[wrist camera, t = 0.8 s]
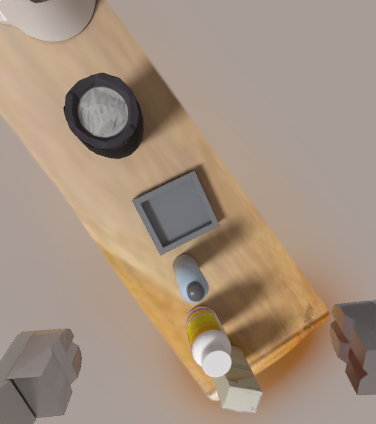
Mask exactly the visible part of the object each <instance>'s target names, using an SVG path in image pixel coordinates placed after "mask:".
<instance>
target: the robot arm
mask: <svg viewBox="0 0 376 424" xmlns="http://www.w3.org/2000/svg"><path fill="white" fill-rule="evenodd" d="M95 1H96V0H0V23H3V24H7V25H12V26H14V27H16V28H18V29H19V30H21V31H22V32H24V33H26V34H27V35H29V36H31V37H34V38H36V39H39V40H43V41H52V42H55V41H63V40H66V39H69V38H72V37H74V36H75V35H77V34H78V33H80V32H81V31H82V30H83V29H84V28H85V27H86V25H87V24H88V23H89V21H90V19H91V17H92V15H93V12H94V8H95ZM332 314H333V316H334V318H335V321H334V322H332V323H331V327H330V335H331V341H332V344H333V347H334V350H335V352H336V354H337V356H338V358H340V359H341V360H343V361H344V362H345V363H346V371H345V372H346V374H347V376H348V378H349V380H350V382H351V384H352V386H353V388H354V390H355V392H356V394H357V395H374V394H376V300H373V301H361V302H352V303H342V304H335V305H334V307H333V310H332ZM73 337H74V335H73V333H72V331H71V329H53V330H39V331H38V330H37V331H26V332H21V333H20V334H19V335H17V336H16V338H15V339H14V341H13V342H12V344H11V346H10V347H9V349H8V350H7V352H6V353H5V355H4V356H3V358H2V360H1V361H0V424H33V423H34V422H35V421H36V418H41V417H51V416H60V415H64V413H65V411H66V408H67V405H68V402H69V400H70V397H71V394H72V389H71V386H70V385H71V384H72V383H73V382H74V381H75V380H76V379H77V378H78V375H79V372H80V369H81V361H82V356H81V351H80V348H79V346H78V345H76V344H75V343H73V342H72V340H73Z"/></svg>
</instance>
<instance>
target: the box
mask: <svg viewBox="0 0 376 424" xmlns="http://www.w3.org/2000/svg"><path fill="white" fill-rule="evenodd" d="M132 201H133V203H134V205H135V207H136V209H137V211H138V213H139V215H140V217H141V219H142V221H143V223H144V225H145V226H146V228H147V230H148V232H149V234H150V236H151V238H152V240H153V242H154V244H155V246H156V248H157V250H158V252H159V254H160V255H162V254H164V253H166V252H168V251H170V250H172V249H174V248H176V247H178V246H180V245H182V244H184V243H186V242H188V241H190V240H192V239H194V238H196V237H198V236H200V235H202V234H204V233H206V232H208V231H210V230H212V229H214V228H216V227H218V226H220V225H219V223H218V221H217V219H216V217H215V214H214V212H213V210H212V208H211V206H210V203H209V201H208V199H207V197H206V195H205V192H204V190H203V188H202V186H201V184H200V182H199V179H198V177H197V175H196V173H195V171H191V172H189V173H187V174H185V175H182V176H180V177H178V178H176V179H174V180H172V181H170V182H168V183H166V184H164V185H162V186H160V187H158V188H156V189H154V190H151V191H149V192H147V193H145V194H143V195H141V196H139V197H137V198H135V199H133V200H132Z"/></svg>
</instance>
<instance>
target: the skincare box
mask: <svg viewBox="0 0 376 424" xmlns="http://www.w3.org/2000/svg"><path fill="white" fill-rule="evenodd" d="M230 357H231V360H232V364H231V367H230V369H229V371H228V372H227V373H226V374H224V375H223V376H220V377H213V379H214V383H215V386H216V389H217V393H218V396H219V399H220V403H221V406H222V408H223V409H227V410H232V411H238V412H245V413H252V414H255V413H256V410H257V407H258V405H259V402H260V399H261V396H262V391H261V389H260V386H259V384H258V382H257V380H256V378H255V376H254V374H253V372H252V370H251V368H250V366H249V364H248V362H247V360H246V358H245V356H244V354H243V352H242V350H241V348H239V347H235V346H231V353H230Z"/></svg>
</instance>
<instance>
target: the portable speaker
mask: <svg viewBox="0 0 376 424" xmlns="http://www.w3.org/2000/svg"><path fill="white" fill-rule="evenodd" d="M64 114H65V118H66V121H67V122H68V125H69V128H70V129H71V131H72V132H73V133H74V135H76V136H77V137H78V139H79V140H80V141H81V142H82V143H83V144H84V145H85V146H86V147H87V148H88V149H89V150H91V151H93V152H94V153H96V154H98V155H101V156H105V157H108V158H115V159H120V158H123V157H126V156H129V155H131V154H132V153H133V152H134V151H135V150H136V149H137V148H138V147H139V144H140V142H141V140H142V136H143V116H142V112H141V108H140V105H139V103H138V101H137V99H136V98H135V95H134V94H133V92H132V90H131V88H130V87H128V86H127V85H126V84H125V83H124V82H123V81H122V80H121V79H120V78H118V77H115V76H111V75H108V74H106V73H98V74H95V75H91V76H89V77H87V78H84V79H82V80H80V81H78V82H77V83H76V84H75V85H74V86H73V87H72V88H71V89H70V91H69V92H68V93H67V95H66V100H65V106H64Z"/></svg>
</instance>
